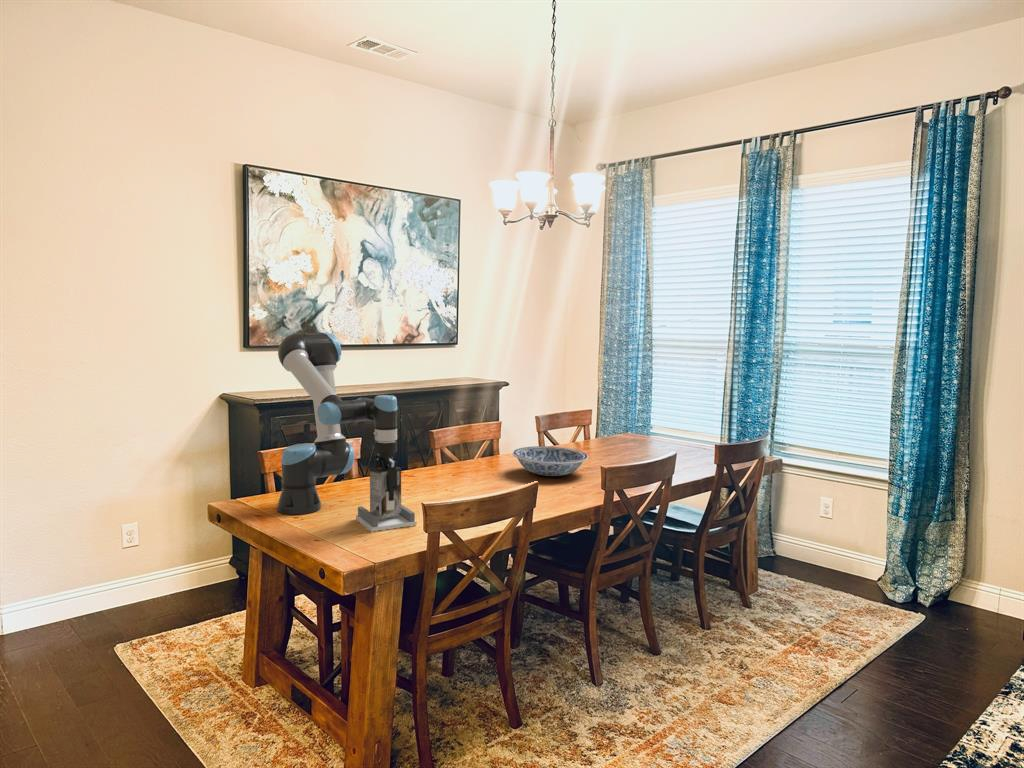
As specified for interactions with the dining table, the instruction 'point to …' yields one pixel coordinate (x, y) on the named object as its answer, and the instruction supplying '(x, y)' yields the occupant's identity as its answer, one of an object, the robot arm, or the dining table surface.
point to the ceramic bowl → (550, 460)
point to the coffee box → (383, 493)
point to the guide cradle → (385, 519)
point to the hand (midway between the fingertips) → (385, 506)
